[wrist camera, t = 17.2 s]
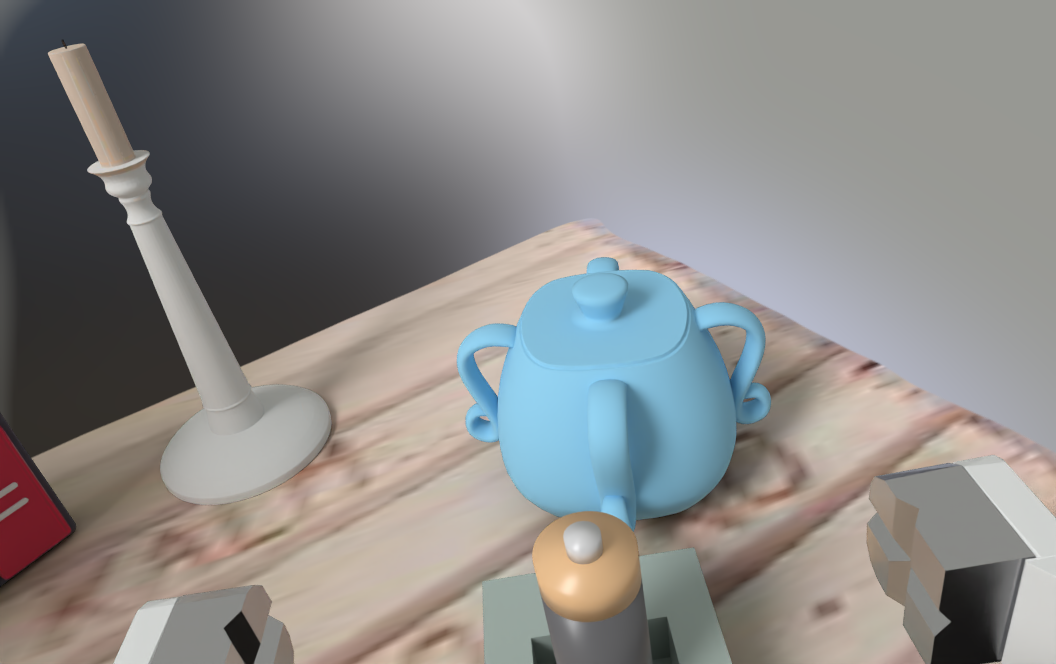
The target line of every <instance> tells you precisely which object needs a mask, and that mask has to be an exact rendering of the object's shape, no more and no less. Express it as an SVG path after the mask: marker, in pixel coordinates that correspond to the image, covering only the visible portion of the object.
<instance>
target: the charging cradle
mask: <svg viewBox="0 0 1056 664" xmlns="http://www.w3.org/2000/svg"><path fill="white" fill-rule="evenodd" d="M639 560H640V568H641V575H642V583H643V591H644V599H645V607H646V615H647V622H648V630H649V638H650V646H651V654H652V661H653V664H732V662H731V659H730V656H729V652H728V649H727V646H726V643H725V640H724V637H723V634H722V631H721V628H720V625H719V622H718V619H717V616H716V613H715V610H714V607H713V604H712V601H711V598H710V595H709V592H708V589H707V586H706V582H705V579H704V576H703V573H702V570H701V567H700V564H699V561H698V558H697V555H696V552H695V549H694V548H688V549H681V550H675V551H669V552H663V553H656V554H650V555H644V556H639ZM482 584H483V621H484V658H485V664H557V663H556V659H555V655H554V650H553V646H552V642H551V637H550V633H549V629H548V624H547V620H546V616H545V612H544V607H543V603H542V599H541V594H540V590H539V586H538V581H537V577H536V573H532V574H526V575H520V576H514V577H507V578H501V579H495V580H489V581H483V582H482Z"/></svg>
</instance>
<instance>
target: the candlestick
mask: <svg viewBox="0 0 1056 664" xmlns="http://www.w3.org/2000/svg"><path fill="white" fill-rule="evenodd" d="M62 43H63V45H64V47H62V48H59V49H56V50H53V51H50V52H48V55H49V57H50V59H51V61H52V63H53V65H54V67H55V70H56V72H57V74H58V76H59V78H60V80H61V82H62V84H63V86H64V88H65V91H66V93H67V95H68V97H69V99H70V101H71V103H72V105H73V107H74V109H75V112H76V114H77V116H78V118H79V120H80V122H81V124H82V126H83V128H84V130H85V133H86V135H87V137H88V138H89V141H90V143H91V145H92V147H93V149H94V151H95V153H96V156H97V158H98V160H99V161H98V162H96V163H94V164H92V165H91V166H90V167H89V168H88V170H87V171H88V172H89V173H92V174H95V175H97V176H99V177H100V178H102V179H103V181H104V182H105V187H106V191H107V192H108V193H109V194H110V195H112V196H115V197H118V198H119V201H120V203H122V204H123V205H124V207H125V208H126V210H127V213H128V220H127V224H129V225H130V227H131V229H132V232H133V234H134V237H135V239H136V241H137V244H138V246H139V249H140V251H141V254H142V256H143V258H144V261H145V263H146V266H147V268H148V271H149V273H150V275H151V278H152V280H153V283H154V285H155V288H156V290H157V293H158V295H159V297H160V300H161V302H162V305H163V307H164V310H165V312H166V314H167V317H168V319H169V322H170V324H171V326H172V329H173V331H174V334H175V336H176V339H177V341H178V344H179V346H180V348H181V351H182V353H183V356H184V358H185V360H186V363H187V365H188V368H189V370H190V373H191V375H192V378H193V380H194V382H195V385H196V387H197V390H198V392H199V395H200V397H201V400H202V404H203V407H204V408H203V409H202V410H200V411H199V412H198V413H196V414H195V415H194V416H193V417H191V418H190V419H189V420H188V421H187V422H186V423H185V424H184V425H183V426H182V427H181V428H180V429H179V430H178V431H177V432H176V434H175V435H174V436H173V438H172V439H171V440H170V442H169V444H168V445H167V447H166V449H165V451H164V453H163V456H162V459H161V464H160V472H161V477H162V480H163V482H164V484H165V485H166V487H167V489H168V490H169V491H170V492H171V493H172V494H173V495H174V496H175V497H177V498H179V499H180V500H183V501H185V502H189V503H193V504H199V505H219V504H227V503H233V502H237V501H241V500H245V499H248V498H251V497H254V496H257V495H259V494H262V493H264V492H266V491H269V490H271V489H273V488H275V487H277V486H279V485H280V484H282V483H284V482H285V481H287V480H289V479H290V478H292V477H293V476H294V475H296V474H297V473H298V472H300V471H301V470H302V469H303V468H305V467H306V466H307V465H308V464H309V463H310V462H311V461H312V460H313V459H314V458H315V457H316V456H317V454H318V453H319V452H320V451H321V449H322V448H323V446H324V445H325V443H326V441H327V439H328V437H329V434H330V430H331V425H332V419H331V414H330V411H329V409H328V406H327V404H326V403H325V401H324V400H323V399H322V398H321V397H320V396H319V395H318V394H316V393H315V392H313V391H311V390H309V389H306V388H302V387H298V386H292V385H279V384H278V385H263V386H257V387H252V388H251V385H250V384H249V383H248V381H247V379H246V377H245V376H244V374H243V372H242V370H241V368H240V366H239V364H238V362H237V360H236V358H235V356H234V355H233V353H232V351H231V349H230V347H229V345H228V343H227V341H226V339H225V337H224V335H223V333H222V331H221V329H220V327H219V325H218V323H217V322H216V320H215V318H214V316H213V314H212V312H211V310H210V308H209V306H208V304H207V302H206V300H205V298H204V296H203V294H202V293H201V291H200V289H199V287H198V285H197V283H196V281H195V279H194V277H193V275H192V273H191V271H190V269H189V267H188V265H187V263H186V261H185V260H184V258H183V256H182V254H181V252H180V250H179V248H178V246H177V244H176V242H175V240H174V238H173V236H172V234H171V232H170V230H169V228H168V227H167V224H166V222H165V221H164V219H163V217H162V212H161V210H159V209H157V208H156V207H155V206H154V204H153V203H152V201H151V197H150V191H149V190H148V187H149V186H150V184H151V182H152V178H151V176H150V174H149V173H148V172H147V171H146V169H145V162H146V159H147V158H148V156H149V152H148V151H145V150H136V151H133V150H132V148H131V145H130V143H129V141H128V139H127V136H126V134H125V132H124V130H123V128H122V125H121V123H120V121H119V119H118V116H117V114H116V112H115V110H114V108H113V105H112V103H111V101H110V99H109V97H108V94H107V92H106V90H105V87H104V85H103V83H102V81H101V78H100V77H99V74H98V72H97V70H96V67H95V65H94V63H93V61H92V58H91V56H90V54H89V52H88V50H87V47H86V45H85V44H76V45H71V46H66V45H65V43H64V40H62Z"/></svg>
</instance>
